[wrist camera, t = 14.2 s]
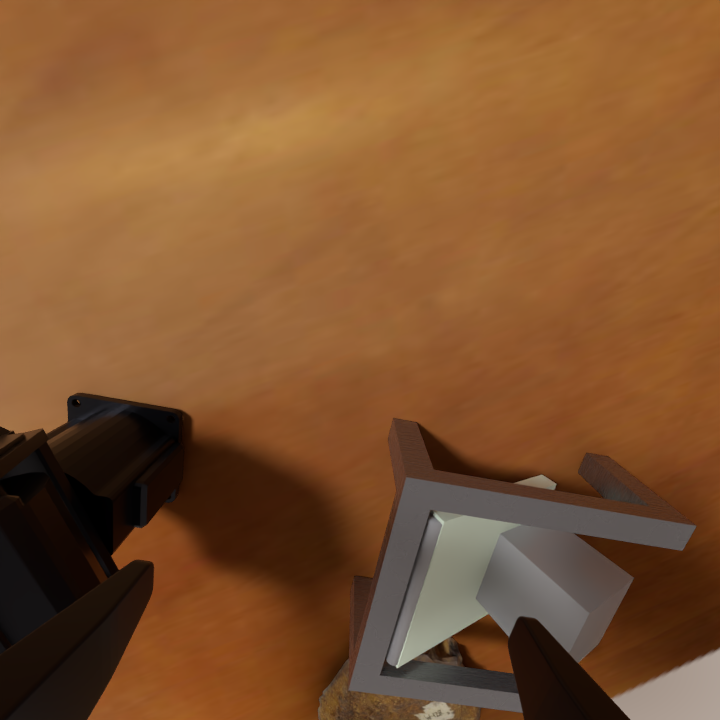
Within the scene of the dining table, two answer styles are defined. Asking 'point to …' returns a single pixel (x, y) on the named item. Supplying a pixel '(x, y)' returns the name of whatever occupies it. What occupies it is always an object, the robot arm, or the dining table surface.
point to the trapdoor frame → (495, 502)
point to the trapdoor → (447, 579)
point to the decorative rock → (391, 713)
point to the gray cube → (553, 586)
